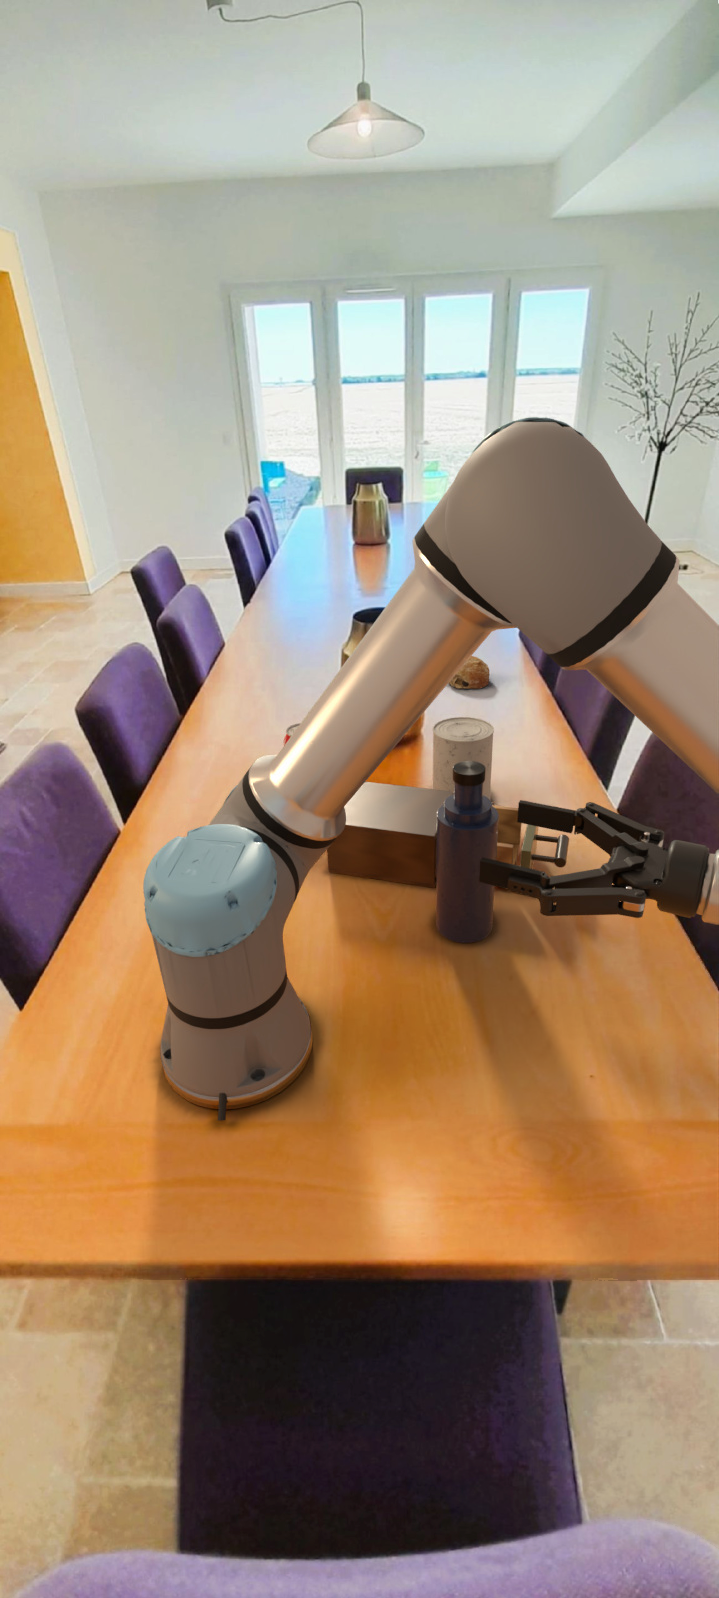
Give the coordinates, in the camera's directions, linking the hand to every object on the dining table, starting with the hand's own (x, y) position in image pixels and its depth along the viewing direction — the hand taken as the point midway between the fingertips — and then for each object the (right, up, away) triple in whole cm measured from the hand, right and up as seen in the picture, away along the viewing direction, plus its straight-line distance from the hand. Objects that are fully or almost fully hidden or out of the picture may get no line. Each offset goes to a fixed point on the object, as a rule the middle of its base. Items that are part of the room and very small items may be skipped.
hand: (500, 838), depth 82 cm
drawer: (+3, -5, +18) cm, 19 cm away
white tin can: (+1, +5, +37) cm, 38 cm away
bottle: (-3, -11, +8) cm, 14 cm away
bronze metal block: (-11, -4, +23) cm, 26 cm away
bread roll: (+9, +31, +85) cm, 91 cm away
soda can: (-24, +5, +40) cm, 47 cm away
